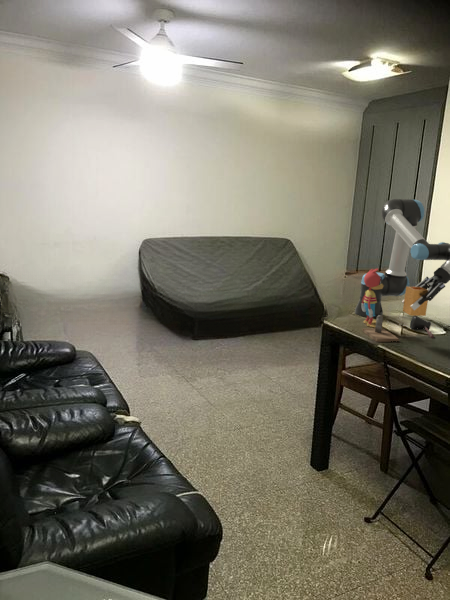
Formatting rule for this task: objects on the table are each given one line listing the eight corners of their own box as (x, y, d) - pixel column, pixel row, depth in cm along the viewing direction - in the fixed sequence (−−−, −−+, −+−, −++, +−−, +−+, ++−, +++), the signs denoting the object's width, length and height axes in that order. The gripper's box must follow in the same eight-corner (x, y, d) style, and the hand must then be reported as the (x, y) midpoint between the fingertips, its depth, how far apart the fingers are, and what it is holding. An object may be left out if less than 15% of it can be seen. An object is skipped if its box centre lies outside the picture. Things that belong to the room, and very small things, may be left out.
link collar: (402, 311, 230) (406, 286, 227) (417, 311, 231) (421, 286, 228) (410, 315, 223) (414, 290, 220) (425, 315, 224) (429, 290, 221)
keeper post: (362, 331, 241) (364, 311, 239) (383, 331, 243) (385, 312, 240) (376, 341, 226) (379, 321, 223) (398, 341, 227) (401, 321, 225)
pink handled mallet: (408, 325, 254) (425, 329, 253) (414, 340, 238) (431, 344, 237) (413, 312, 252) (430, 316, 251) (419, 326, 235) (437, 330, 234)
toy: (383, 329, 246) (390, 271, 239) (363, 328, 246) (370, 270, 239) (374, 321, 261) (381, 266, 254) (355, 320, 261) (362, 265, 253)
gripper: (463, 283, 215) (424, 317, 217) (438, 274, 234) (402, 305, 236) (454, 270, 213) (414, 306, 215) (429, 262, 232) (393, 295, 234)
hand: (408, 305), depth 225 cm, fingers closed on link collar, 7 cm apart
